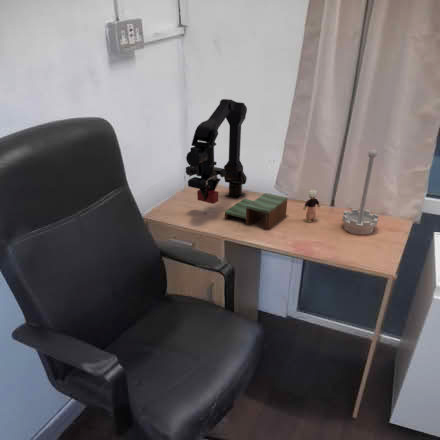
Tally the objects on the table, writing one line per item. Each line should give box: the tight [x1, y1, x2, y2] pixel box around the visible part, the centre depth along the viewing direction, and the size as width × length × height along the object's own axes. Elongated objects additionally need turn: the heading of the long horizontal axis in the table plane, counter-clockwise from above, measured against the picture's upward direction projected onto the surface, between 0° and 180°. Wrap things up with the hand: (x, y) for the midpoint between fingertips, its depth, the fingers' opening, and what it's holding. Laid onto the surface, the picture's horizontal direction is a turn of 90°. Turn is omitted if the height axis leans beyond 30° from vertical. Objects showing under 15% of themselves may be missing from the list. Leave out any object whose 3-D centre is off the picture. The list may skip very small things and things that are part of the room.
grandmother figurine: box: [302, 189, 321, 223], centre depth 165 cm, size 8×4×13 cm, turn 126°
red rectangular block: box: [196, 189, 220, 205], centre depth 170 cm, size 4×8×4 cm, turn 57°
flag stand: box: [341, 149, 379, 236], centre depth 154 cm, size 13×13×30 cm
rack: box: [224, 192, 288, 231], centre depth 170 cm, size 16×20×8 cm
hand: (208, 198), depth 170 cm, fingers closed on red rectangular block, 3 cm apart
